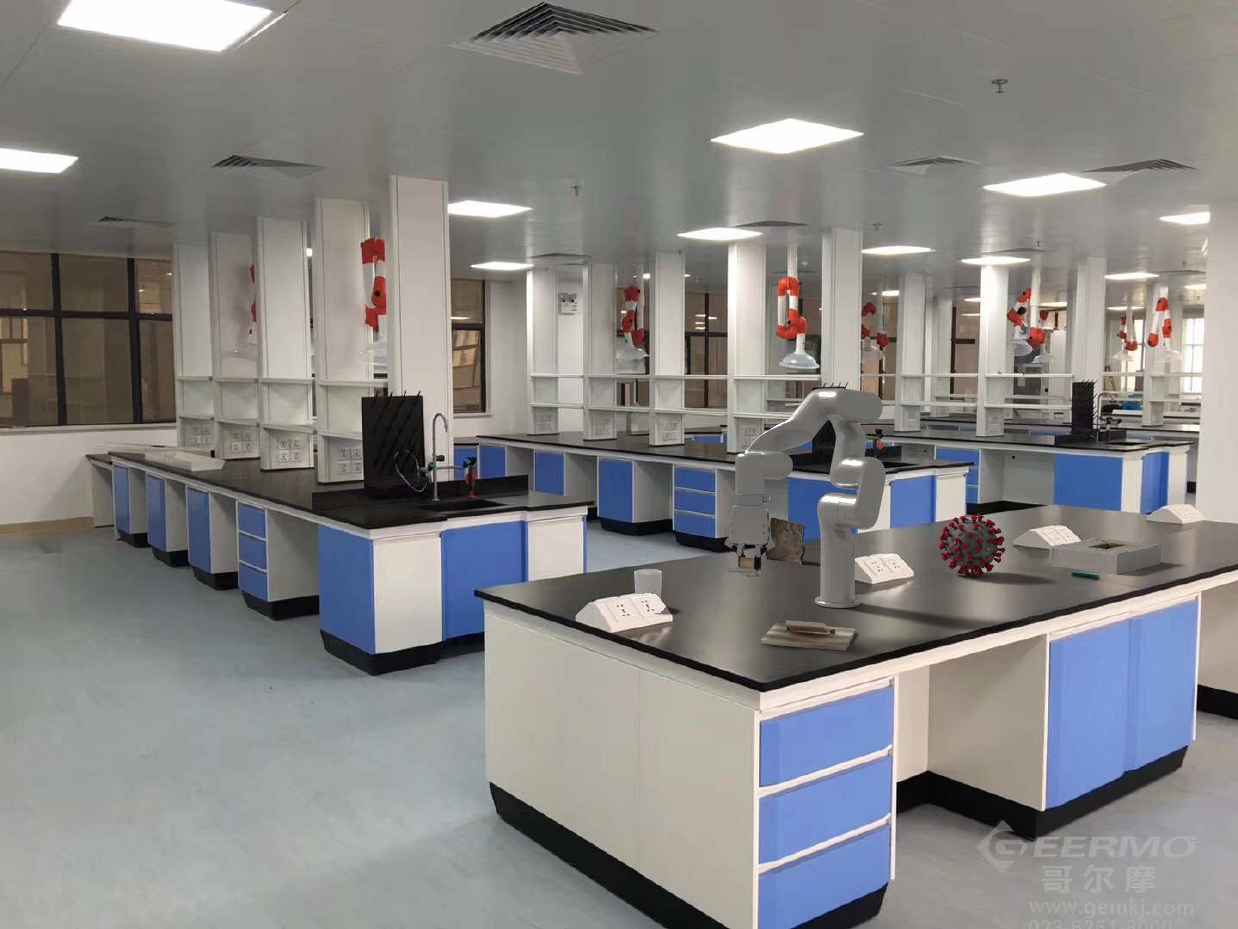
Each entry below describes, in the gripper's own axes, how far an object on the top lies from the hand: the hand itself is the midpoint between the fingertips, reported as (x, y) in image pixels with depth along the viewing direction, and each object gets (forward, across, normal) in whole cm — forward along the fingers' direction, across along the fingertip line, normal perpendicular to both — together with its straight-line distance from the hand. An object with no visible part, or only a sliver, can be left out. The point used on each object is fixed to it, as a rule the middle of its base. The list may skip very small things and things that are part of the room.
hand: (749, 570), depth 249 cm
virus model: (+14, -53, -88) cm, 103 cm away
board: (+14, -17, +9) cm, 24 cm away
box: (+14, -96, -122) cm, 156 cm away
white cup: (+14, +32, -12) cm, 37 cm away
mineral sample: (+14, +9, -96) cm, 97 cm away
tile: (+10, -17, +11) cm, 23 cm away
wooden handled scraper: (0, 0, +3) cm, 3 cm away
